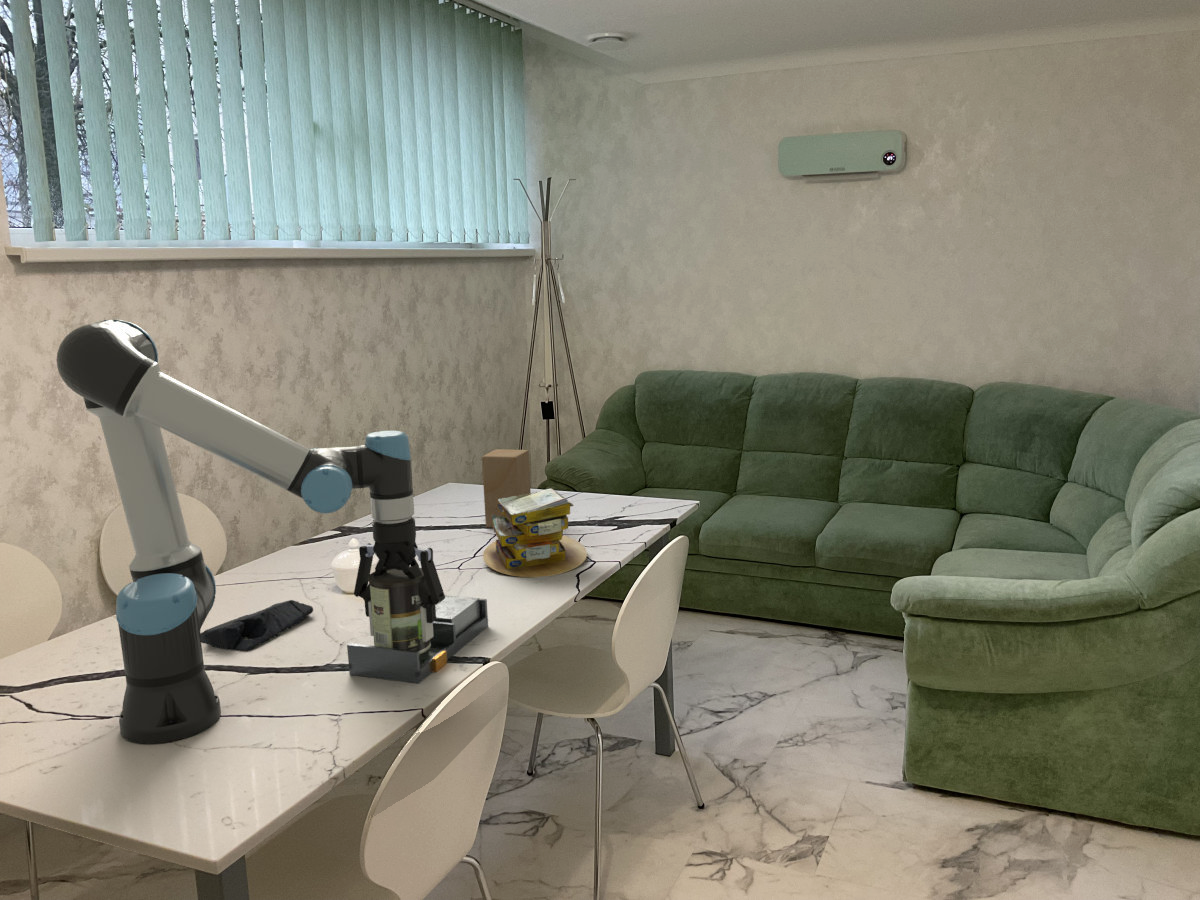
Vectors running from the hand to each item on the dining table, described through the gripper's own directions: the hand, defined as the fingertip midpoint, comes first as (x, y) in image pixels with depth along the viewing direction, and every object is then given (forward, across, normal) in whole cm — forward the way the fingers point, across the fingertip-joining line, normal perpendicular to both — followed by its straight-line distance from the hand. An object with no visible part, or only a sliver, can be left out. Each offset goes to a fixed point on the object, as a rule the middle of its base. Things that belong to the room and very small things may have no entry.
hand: (402, 636), depth 183 cm
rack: (+5, 0, -7) cm, 9 cm away
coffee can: (+2, 0, 0) cm, 2 cm away
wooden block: (+5, +21, -93) cm, 95 cm away
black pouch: (+6, +38, -8) cm, 39 cm away
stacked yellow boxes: (+6, +1, -63) cm, 63 cm away
